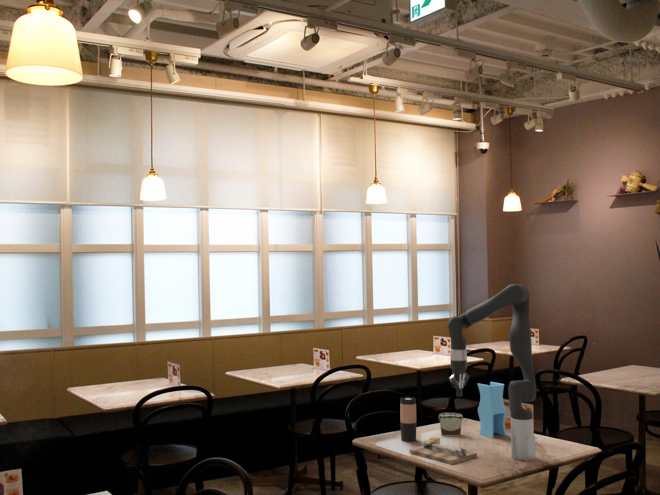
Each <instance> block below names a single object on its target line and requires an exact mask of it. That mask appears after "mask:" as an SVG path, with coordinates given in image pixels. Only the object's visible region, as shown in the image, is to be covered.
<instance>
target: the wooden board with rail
mask: <svg viewBox="0 0 660 495" xmlns="http://www.w3.org/2000/svg"><path fill="white" fill-rule="evenodd" d="M443 445H444V446H446V445H445V444H443ZM447 446H448V447H450V446H449V445H447ZM451 447H452V448H455V449H459V450H455V453H454V452H451V451H447V450H444V449H440V448H436V447H433V446H429V445H426V444H423V445H421V446H418V447H414V448H411V449H409V454H412V453H413V455H416V456H419V457H423V458H428V459H430V460H434V461H439V462H442V463H445V464H449V465H455V464H458V463H461V462H464V461H465V462H466V461H467V460H472V459H475V458H478V454H477V452H472V451H468V450H467V449H466V448H462V447H461V448H457V447H453V446H451ZM460 450H463V453H461V451H460Z"/></svg>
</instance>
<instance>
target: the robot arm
mask: <svg viewBox="0 0 660 495" xmlns="http://www.w3.org/2000/svg"><path fill="white" fill-rule="evenodd" d="M529 291H530V290H529V289H528V288H527V287H526V286H525V285H523V284H520V283H519V284H518V283H512V284H509V285H508V286H506V287H505V288H503V289H502V290H501V291H499V292H498V293H497V294H495V295H494V296H492V297H491V298H489V299H487V300H485V301H483V302H481V303H479V304H476V305H474V306H473V307H471V308H469V309H467V311H465V312H464V313H462V314H460V315H456V316H455V315H454V316H451V317H450V318H449V319H448V322H447V329H448V334H449V337H450V357H449V358H450V369H451V370H452V372H451V376H448V381H449V382H450V385H451V386H452V387H453V388H455V395H456V397H459V398H461V397H463V389H464V387H466V385H467V383H468V381H469V378H470V375H469V374H467V372H466V370H467V368H468V355H467V354H468V353H467V339H466V337H464V336H463V331H465V330H466V329H469V328H470V327H472V326H474V324H478V323H480V322H482V321H483V320H485V319H487V318H489V317H490V316H491V315H493V314H495V313H496V312H497V311H499V310H501V309H503V308H506V307H508V306H512V308H511V309H512V320H511V321H512V322H511V324H510V329H509V335H508V336H509V338H508V339H509V350H510V353H511V355H512V356H513V358H514V359H515V361H516V362H517V364H518V366H520V369H521V372H522V376H523V379H522V380H511V381H510V382H509V384H508V390H507V391H508V403H509V406H508V407H509V411H510V412H509V413H510V445H511V446H510V448H511V451H510V452H511V454H510V455H511V458H512V459H515V460H518V461H526V462H530V461H532V460H535V459H536V458H537V457H536V436H535V435H534V416H533V411H531V410H530V409H527V408H524V407H523V405H522V403H527V402H531V403H532V402H533V401H535V400H536V397H537V384H536V377H535V373H534V366H533V364H534V362H533V350H532V348H533V347H532V335H531V334H532V333H531V322H530V298H531V295H530V292H529Z"/></svg>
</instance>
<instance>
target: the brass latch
mask: <svg viewBox="0 0 660 495" xmlns="http://www.w3.org/2000/svg"><path fill="white" fill-rule="evenodd" d="M424 443H427V444H432V443H437V444H441V437H438V436H430V437H429V438H428V439H425V440H424V441H423V444H424Z"/></svg>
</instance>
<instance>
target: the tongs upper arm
mask: <svg viewBox="0 0 660 495" xmlns="http://www.w3.org/2000/svg"><path fill="white" fill-rule="evenodd" d="M423 445H429V446H433V447H436V448H440V449H444V450H447V451H451V452H454V453H455V450H459V449H460V448H457V449H455V448H456V447H453V446H449V445H445V444H441V443H440V444H437V443H432V444H427V443H424V442H423ZM444 445H445V446H444ZM448 446H449V447H448ZM452 447H453V448H452ZM460 451H461V453H463V450H460Z"/></svg>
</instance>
